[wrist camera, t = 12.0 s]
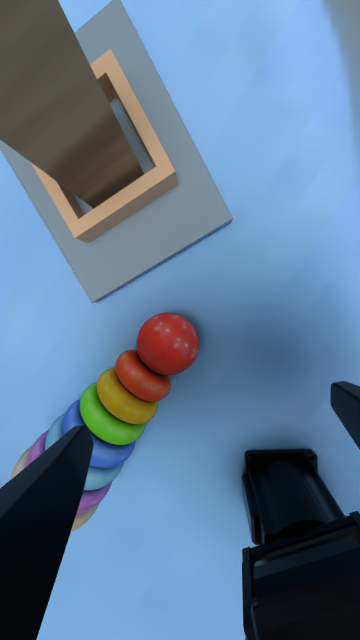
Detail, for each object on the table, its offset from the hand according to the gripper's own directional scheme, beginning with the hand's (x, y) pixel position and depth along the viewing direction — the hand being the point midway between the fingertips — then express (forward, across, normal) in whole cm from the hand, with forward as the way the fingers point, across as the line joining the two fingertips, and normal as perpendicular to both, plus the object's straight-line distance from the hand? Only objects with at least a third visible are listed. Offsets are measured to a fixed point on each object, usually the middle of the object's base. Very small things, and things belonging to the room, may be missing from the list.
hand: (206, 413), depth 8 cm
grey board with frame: (+15, +5, -13) cm, 21 cm away
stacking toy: (+7, +15, +12) cm, 20 cm away
